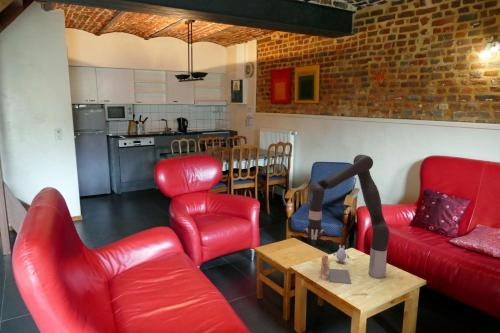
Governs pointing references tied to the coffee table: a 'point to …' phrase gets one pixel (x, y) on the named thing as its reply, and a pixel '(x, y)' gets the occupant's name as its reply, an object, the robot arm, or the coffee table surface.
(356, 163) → the robot arm
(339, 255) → the toy figure
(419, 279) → the coffee table surface
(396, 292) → the coffee table surface
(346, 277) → the felt mat
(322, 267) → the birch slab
